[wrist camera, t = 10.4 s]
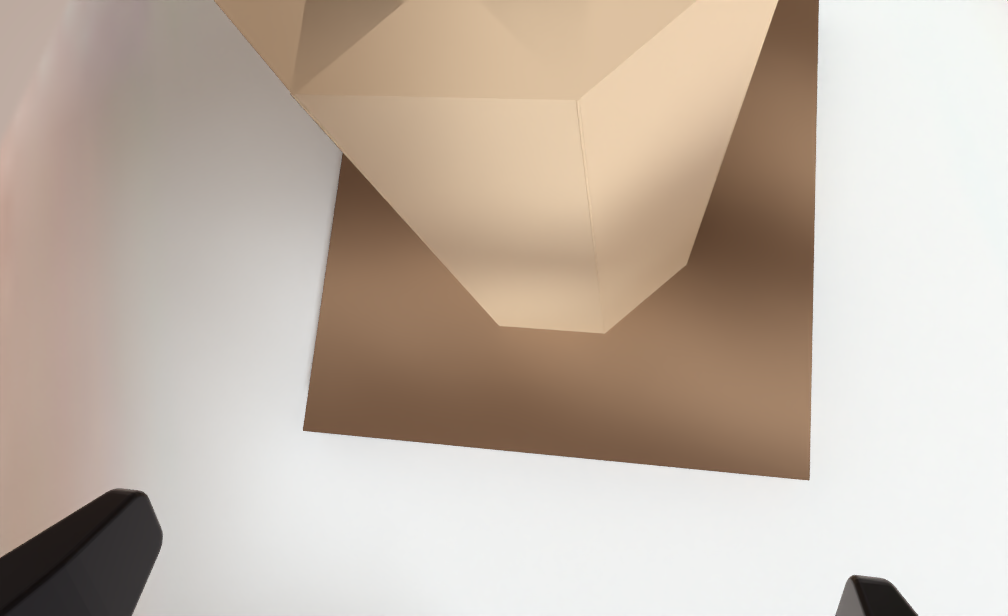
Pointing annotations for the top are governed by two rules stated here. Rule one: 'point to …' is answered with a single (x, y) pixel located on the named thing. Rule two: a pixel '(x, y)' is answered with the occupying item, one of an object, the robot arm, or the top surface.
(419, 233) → the paper roll
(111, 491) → the robot arm
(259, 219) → the top surface
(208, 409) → the top surface
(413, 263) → the roll stand
